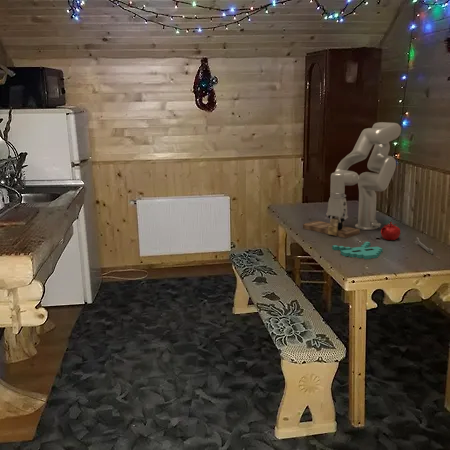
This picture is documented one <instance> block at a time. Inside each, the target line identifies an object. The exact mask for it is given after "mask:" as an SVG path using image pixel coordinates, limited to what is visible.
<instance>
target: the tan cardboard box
mask: <svg viewBox="0 0 450 450" xmlns="http://www.w3.org/2000/svg"><path fill="white" fill-rule="evenodd" d="M329 221H330V222H329V223H330V226H329V227H328V234H327V235H329V236H334V235H335V237H337V236H336V235H337V231H338V223H339V218H338V217H335V218H333V219H329ZM342 229H343V228H342ZM342 229H341V230H342Z"/></svg>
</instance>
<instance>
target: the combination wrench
mask: <svg viewBox="0 0 450 450" xmlns="http://www.w3.org/2000/svg"><path fill="white" fill-rule="evenodd" d="M415 238H416V240H415V244H416V246H417V245H419V246H420V247H421V248H423V249H424V250H425V251H426V252H427V253H428V254H429V253H431V254H432V255H433V254H434V250H433V248H428V247H427V246H426V245H425V244H424V243H422V242H421V241H420V238H419V237H417V236H416V237H415Z"/></svg>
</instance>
